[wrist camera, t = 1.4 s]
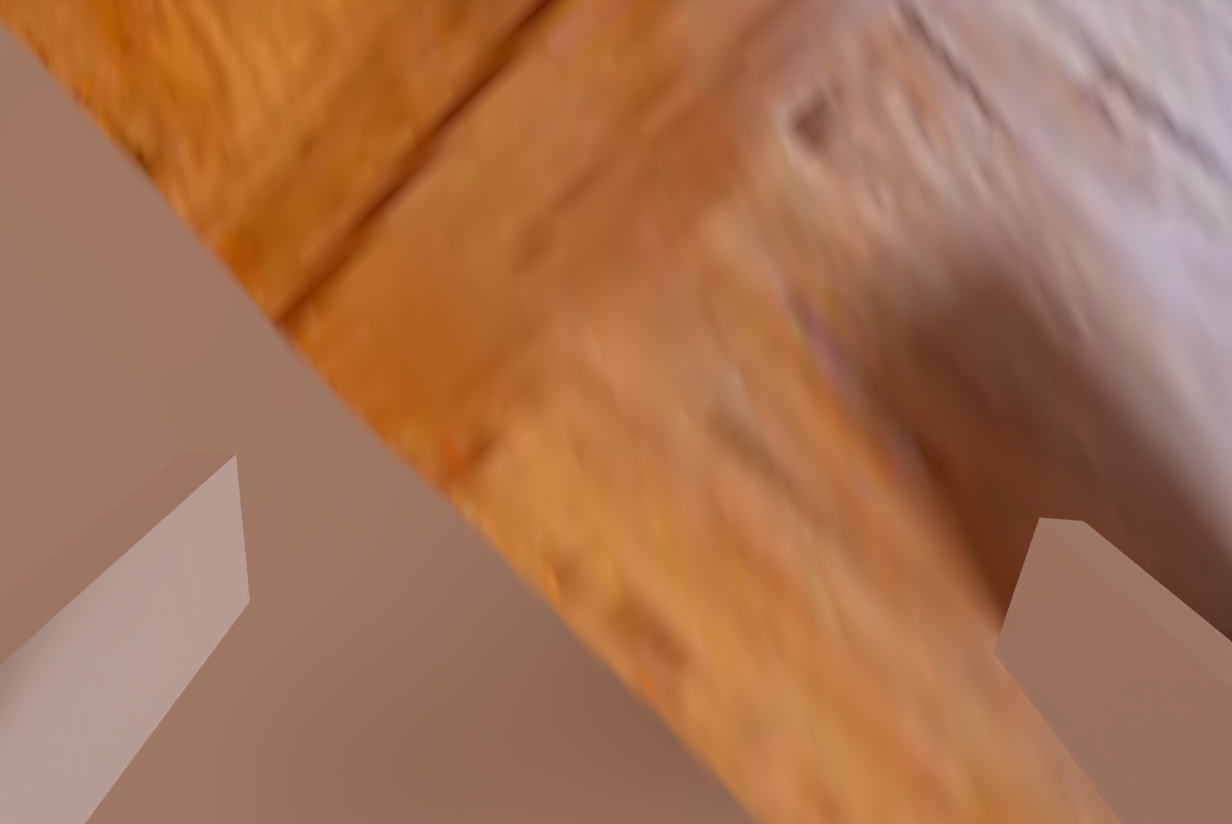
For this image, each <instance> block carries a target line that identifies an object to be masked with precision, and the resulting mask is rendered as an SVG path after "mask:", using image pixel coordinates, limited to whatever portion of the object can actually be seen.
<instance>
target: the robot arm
mask: <svg viewBox="0 0 1232 824" xmlns="http://www.w3.org/2000/svg"><path fill="white" fill-rule="evenodd" d="M249 601H250V600H249V589H248V578H247V568H246V557H245V547H244V537H243V526H242V516H241V505H240V494H239V484H238V473H237V463H236V455H234V454H223V453H210V452H197V451H185V452H184V453H182V454H181V455H180V456H178V457H177V458H176V459H174V460H173V461H172V462H171V463H169V464H168V465H167V466H165V467H164V468H163V469H162V470H160V471H159V472H158V473H156V474H155V475H154V476H153V477H151V478H150V479H149V480H147V481H146V482H145V483H144V484H142V485H141V486H140V487H138V488H137V489H136V490H135V491H133V492H132V493H131V494H129V495H128V496H127V497H126V498H124V499H123V500H122V501H120V502H119V503H118V504H116V505H115V506H114V507H113V508H111V509H110V510H109V511H108V512H106V513H105V514H104V515H102V516H101V517H100V518H98V519H97V520H96V521H95V522H93V523H92V524H91V525H90V526H88V527H87V528H86V529H84V530H83V531H82V532H81V533H79V534H78V535H77V536H75V537H74V538H73V539H71V540H70V541H69V542H68V543H66V544H65V545H64V546H63V547H61V548H60V549H59V550H57V551H56V552H55V553H53V554H52V555H51V556H50V557H48V558H47V559H46V560H44V561H43V562H42V563H41V564H40V565H38V566H37V567H35V568H34V569H33V570H32V571H30V572H29V573H28V574H27V575H25V576H24V577H23V578H21V579H20V580H19V581H17V582H16V583H15V584H14V585H12V586H11V587H10V588H8V589H7V590H6V591H5V592H3V593H2V594H1V595H0V824H85V822H86V821H87V820H88V818H89V817H90V815H91V814H92V813H93V811H94V810H95V808H96V807H97V806H98V805H99V803H100V802H101V801H102V799H103V798H104V797H105V795H106V794H107V793H108V791H109V790H110V788H111V787H112V786H113V785H114V783H115V782H116V780H117V779H118V778H119V776H120V775H121V774H122V772H123V771H124V770H125V768H126V767H127V766H128V764H129V763H130V762H131V760H132V759H133V758H134V756H135V755H136V754H137V752H138V751H139V750H140V748H141V747H142V745H143V744H144V743H145V741H146V740H147V739H148V737H149V736H150V735H151V733H152V732H153V731H154V729H155V728H156V727H157V725H158V724H159V723H160V721H161V720H162V719H163V717H164V716H165V715H166V713H167V712H168V710H169V709H170V708H171V706H172V705H173V704H174V702H175V701H176V700H177V698H178V697H179V696H180V694H181V693H182V691H183V690H184V689H185V687H186V686H187V685H188V683H189V682H190V681H191V680H192V678H193V677H194V675H195V674H196V673H197V671H198V670H199V669H200V667H201V666H202V665H203V663H204V662H205V661H206V659H207V658H208V657H209V655H210V654H211V652H212V651H213V650H214V649H215V647H216V646H217V644H218V643H219V642H220V640H221V639H222V638H223V636H224V635H225V634H226V632H227V631H228V630H229V628H230V627H231V626H232V624H233V623H234V622H235V620H236V619H237V618H238V616H239V615H240V613H241V612H242V611H243V610H244V608H245V607H246V605H247V604H248V603H249ZM994 653H995V655H996V656H997V657H998V659H999V660H1000V661H1001V663H1002V664H1003V665H1004V667H1005V668H1006V669H1007V671H1008V672H1009V673H1010V675H1011V676H1012V677H1013V679H1014V680H1015V681H1016V683H1017V684H1018V685H1019V687H1020V688H1021V689H1022V691H1023V692H1024V693H1025V695H1026V696H1027V697H1028V699H1029V700H1030V701H1031V703H1032V704H1033V705H1034V707H1035V708H1036V709H1037V711H1038V712H1039V713H1040V715H1041V716H1042V717H1043V719H1044V720H1045V721H1046V723H1047V724H1048V725H1049V727H1050V728H1051V730H1052V731H1053V732H1054V734H1055V735H1056V736H1057V738H1058V739H1059V740H1060V742H1061V743H1062V744H1063V746H1064V747H1065V748H1066V750H1067V751H1068V752H1069V754H1070V755H1071V756H1072V758H1073V759H1074V760H1075V762H1076V763H1077V764H1078V766H1079V767H1080V768H1081V770H1082V771H1083V772H1084V774H1085V775H1086V776H1087V778H1088V779H1089V780H1090V782H1091V783H1092V784H1093V786H1094V787H1095V788H1096V790H1097V791H1098V792H1099V794H1100V795H1101V796H1102V798H1103V799H1104V800H1105V802H1106V803H1107V804H1108V806H1109V807H1110V808H1111V810H1112V811H1113V812H1114V814H1115V815H1116V816H1117V818H1118V819H1119V820H1120V822H1121V823H1122V824H1232V642H1231V641H1230V640H1229V639H1228V638H1227V637H1225V636H1224V635H1223V634H1222V633H1220V632H1219V631H1218V630H1217V629H1216V628H1214V627H1213V626H1212V625H1211V624H1209V623H1208V622H1207V621H1206V620H1204V619H1203V618H1202V617H1201V616H1200V615H1198V614H1197V613H1196V612H1195V611H1193V610H1192V609H1191V608H1190V607H1189V606H1187V605H1186V604H1185V603H1184V602H1182V601H1181V600H1180V599H1179V598H1177V597H1176V596H1175V595H1174V594H1173V593H1171V592H1170V591H1169V590H1168V589H1166V588H1165V587H1164V586H1163V585H1162V584H1160V583H1159V582H1158V581H1157V580H1155V579H1154V578H1153V577H1152V576H1150V575H1149V574H1148V573H1147V572H1146V571H1144V570H1143V569H1142V568H1141V567H1139V566H1138V565H1137V564H1136V563H1135V562H1133V561H1132V560H1131V559H1130V558H1128V557H1127V556H1126V555H1125V554H1123V553H1122V552H1121V551H1120V550H1119V549H1117V548H1116V547H1115V546H1114V545H1112V544H1111V543H1110V542H1109V541H1108V540H1106V539H1105V538H1104V537H1103V536H1101V535H1100V534H1099V533H1098V532H1096V531H1095V530H1094V529H1093V528H1092V527H1090V526H1089V525H1088V524H1087V523H1085V522H1084V521H1077V520H1064V519H1051V518H1039V521H1038V523H1037V526H1036V529H1035V532H1034V535H1033V538H1032V541H1031V544H1030V547H1029V550H1028V553H1027V556H1026V559H1025V562H1024V564H1023V567H1022V570H1021V573H1020V576H1019V579H1018V582H1017V585H1016V588H1015V591H1014V594H1013V597H1012V600H1011V603H1010V605H1009V608H1008V611H1007V614H1006V617H1005V620H1004V623H1003V626H1002V629H1001V632H1000V635H999V638H998V641H997V644H996V646H995V649H994Z"/></svg>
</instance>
